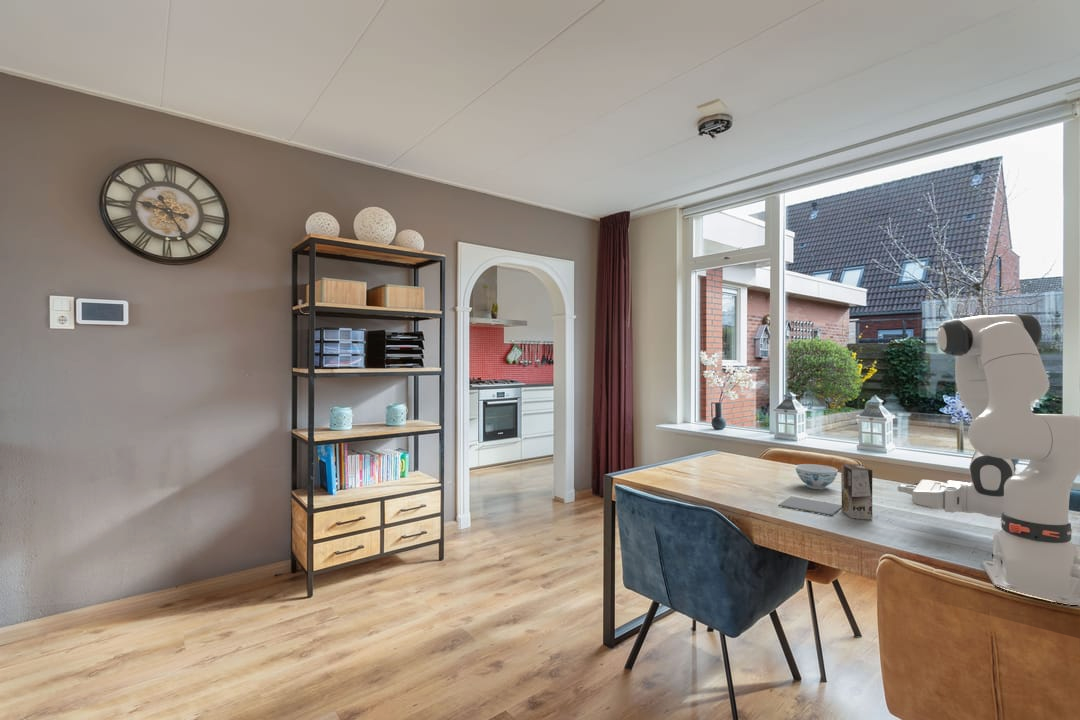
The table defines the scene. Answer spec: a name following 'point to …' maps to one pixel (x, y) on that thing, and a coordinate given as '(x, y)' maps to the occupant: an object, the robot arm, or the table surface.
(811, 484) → the chinaware
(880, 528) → the table surface
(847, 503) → the coffee box
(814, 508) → the slate mat
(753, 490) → the table surface
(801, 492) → the table surface
